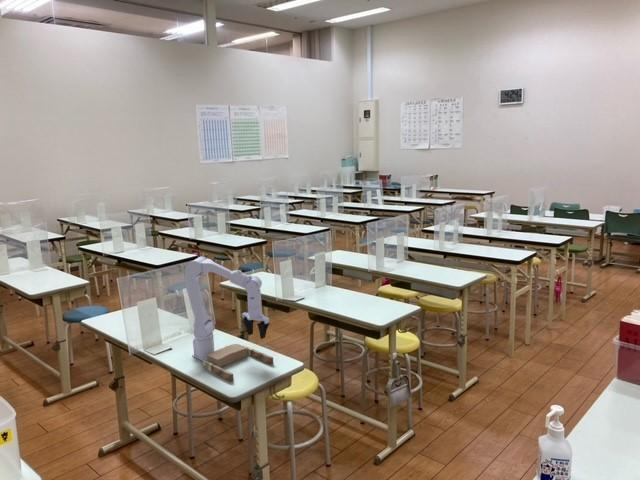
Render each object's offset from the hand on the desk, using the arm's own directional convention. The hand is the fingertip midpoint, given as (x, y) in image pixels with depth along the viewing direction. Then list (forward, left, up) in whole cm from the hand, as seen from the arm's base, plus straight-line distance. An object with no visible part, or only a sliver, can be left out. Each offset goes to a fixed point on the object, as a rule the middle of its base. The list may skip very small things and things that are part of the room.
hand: (256, 336), depth 213 cm
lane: (-1, -10, -10) cm, 14 cm away
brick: (-4, -10, -7) cm, 12 cm away
